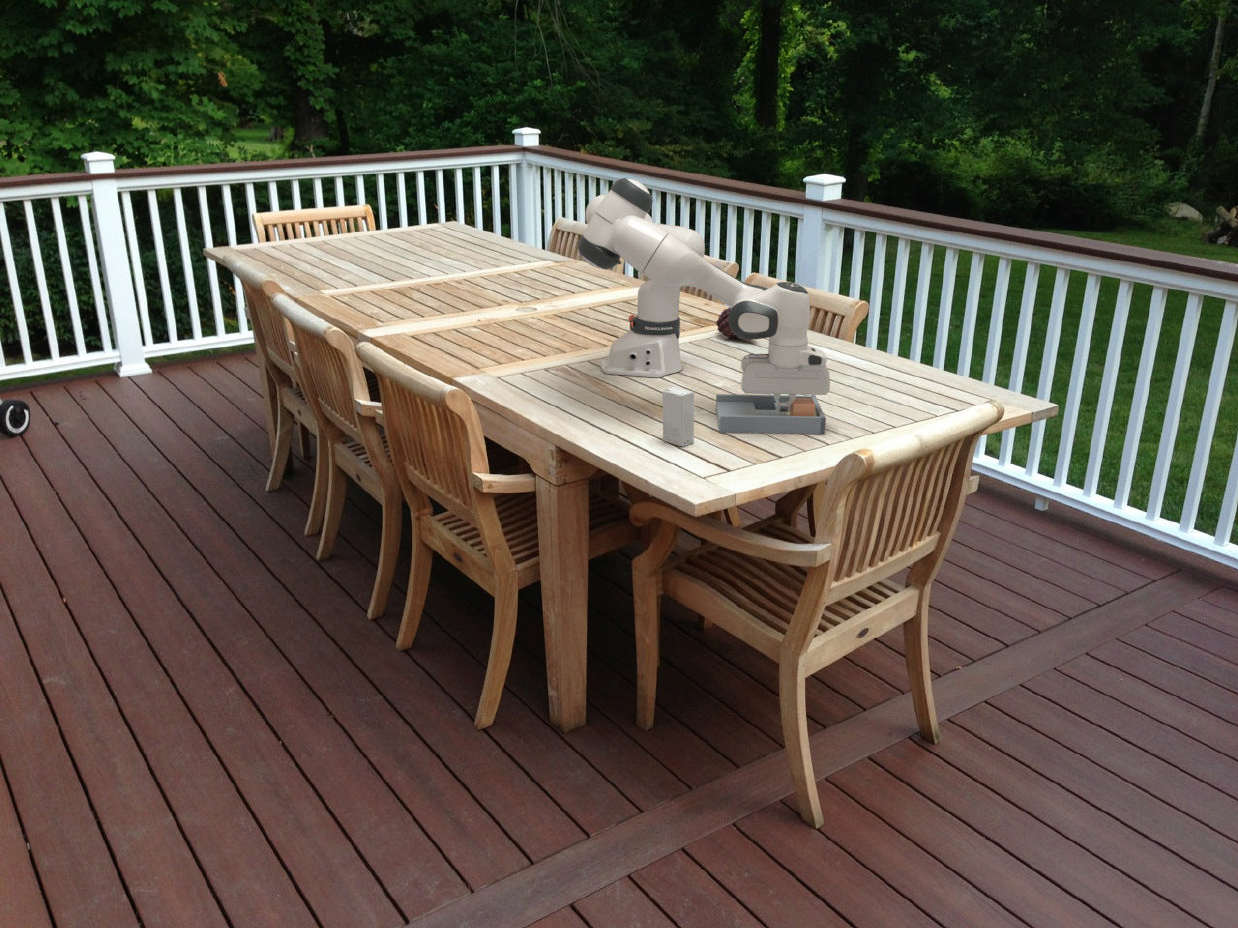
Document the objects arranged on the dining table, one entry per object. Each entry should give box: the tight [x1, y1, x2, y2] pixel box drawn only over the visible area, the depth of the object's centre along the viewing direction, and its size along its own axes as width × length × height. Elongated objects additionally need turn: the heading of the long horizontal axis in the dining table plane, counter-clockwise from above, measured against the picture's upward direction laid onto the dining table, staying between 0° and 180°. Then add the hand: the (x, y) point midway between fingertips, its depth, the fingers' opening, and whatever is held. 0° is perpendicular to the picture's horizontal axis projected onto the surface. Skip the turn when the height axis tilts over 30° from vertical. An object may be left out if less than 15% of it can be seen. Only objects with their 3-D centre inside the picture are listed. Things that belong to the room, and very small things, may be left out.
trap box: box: [715, 393, 827, 435], centre depth 258 cm, size 24×17×4 cm
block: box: [790, 398, 815, 416], centre depth 254 cm, size 5×5×4 cm
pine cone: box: [715, 307, 741, 340], centre depth 326 cm, size 18×10×10 cm, turn 32°
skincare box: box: [661, 386, 695, 447], centre depth 243 cm, size 6×4×12 cm
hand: (783, 411), depth 255 cm, fingers closed
